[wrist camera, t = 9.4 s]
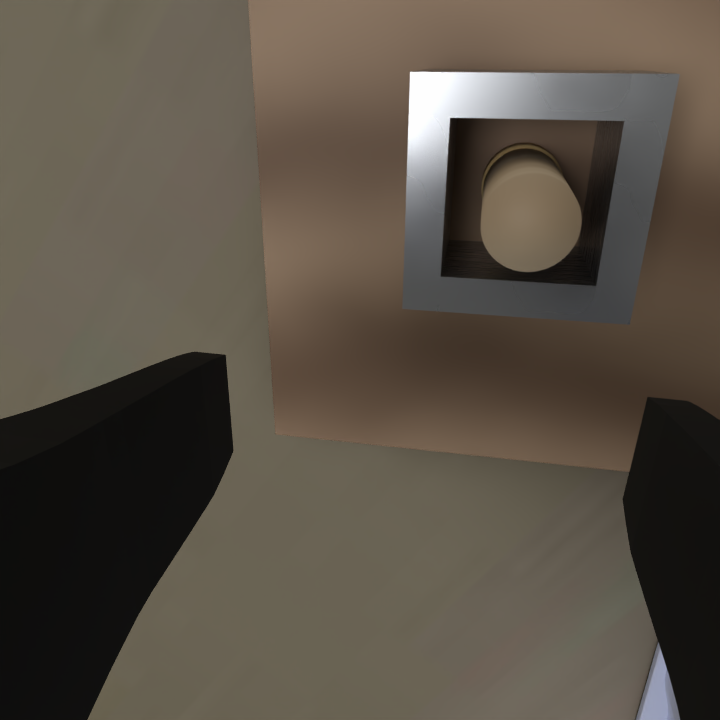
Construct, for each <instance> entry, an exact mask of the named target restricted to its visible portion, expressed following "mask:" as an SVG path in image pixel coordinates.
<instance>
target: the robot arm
mask: <svg viewBox="0 0 720 720" xmlns="http://www.w3.org/2000/svg"><path fill="white" fill-rule="evenodd" d="M232 453H233V440H232V428H231V415H230V403H229V391H228V379H227V366H226V355H222V354H211V353H201V352H191V353H186V354H182V355H179V356H176V357H173V358H170V359H167V360H165V361H162V362H159V363H157V364H154V365H151V366H149V367H146V368H144V369H141V370H139V371H136V372H134V373H131V374H129V375H126V376H123V377H121V378H118V379H116V380H113V381H111V382H108V383H106V384H103V385H101V386H98V387H95V388H93V389H90V390H87V391H84V392H82V393H79V394H76V395H73V396H70V397H68V398H65V399H62V400H59V401H57V402H54V403H51V404H48V405H45V406H43V407H39V408H36V409H33V410H30V411H27V412H24V413H20V414H17V415H14V416H10V417H7V418H3V419H0V720H87V719H88V717H89V715H90V713H91V711H92V708H93V706H94V704H95V702H96V700H97V698H98V696H99V694H100V691H101V689H102V687H103V685H104V683H105V681H106V679H107V676H108V674H109V672H110V670H111V668H112V666H113V664H114V662H115V660H116V658H117V656H118V654H119V652H120V650H121V648H122V646H123V644H124V642H125V640H126V638H127V636H128V634H129V632H130V630H131V628H132V626H133V624H134V622H135V620H136V618H137V616H138V614H139V613H140V611H141V609H142V608H143V606H144V604H145V603H146V601H147V599H148V597H149V596H150V594H151V592H152V591H153V589H154V588H155V586H156V585H157V583H158V581H159V580H160V578H161V577H162V575H163V574H164V572H165V571H166V569H167V568H168V566H169V565H170V563H171V561H172V560H173V558H174V557H175V555H176V554H177V552H178V551H179V549H180V548H181V546H182V544H183V543H184V541H185V540H186V538H187V537H188V535H189V534H190V532H191V531H192V529H193V527H194V526H195V524H196V523H197V521H198V520H199V518H200V516H201V515H202V513H203V512H204V510H205V509H206V507H207V505H208V504H209V502H210V500H211V499H212V497H213V496H214V494H215V491H216V489H217V487H218V485H219V483H220V481H221V479H222V477H223V474H224V472H225V470H226V467H227V465H228V463H229V460H230V458H231V455H232ZM623 505H624V512H625V519H626V526H627V533H628V539H629V545H630V550H631V555H632V558H633V561H634V565H635V568H636V572H637V575H638V578H639V581H640V585H641V588H642V591H643V595H644V598H645V601H646V604H647V607H648V610H649V614H650V617H651V620H652V623H653V626H654V630H655V633H656V636H657V639H658V644H657V648H656V651H655V655H654V658H653V662H652V665H651V669H650V672H649V676H648V679H647V683H646V686H645V690H644V693H643V697H642V700H641V704H640V707H639V710H638V714H637V717H636V720H720V420H719V419H717V418H716V417H714V416H713V415H711V414H710V413H708V412H707V411H705V410H704V409H702V408H700V407H699V406H697V405H695V404H693V403H691V402H689V401H685V400H675V399H665V398H655V397H647V401H646V405H645V409H644V413H643V418H642V422H641V426H640V430H639V434H638V438H637V442H636V447H635V451H634V455H633V459H632V463H631V467H630V472H629V476H628V480H627V484H626V488H625V492H624V496H623Z"/></svg>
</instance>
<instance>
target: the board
mask: <svg viewBox="0 0 720 720" xmlns="http://www.w3.org/2000/svg"><path fill="white" fill-rule="evenodd" d="M248 5H249V21H250V37H251V53H252V69H253V85H254V101H255V116H256V132H257V148H258V164H259V180H260V196H261V212H262V228H263V244H264V260H265V275H266V291H267V307H268V323H269V339H270V355H271V371H272V387H273V403H274V418H275V434H278V435H287V436H296V437H306V438H315V439H325V440H334V441H343V442H353V443H362V444H372V445H381V446H390V447H400V448H409V449H419V450H428V451H437V452H447V453H456V454H466V455H475V456H485V457H494V458H503V459H513V460H522V461H532V462H541V463H550V464H560V465H569V466H579V467H588V468H597V469H607V470H616V471H626V472H630V467H631V463H632V459H633V455H634V451H635V447H636V442H637V438H638V434H639V430H640V426H641V422H642V418H643V413H644V409H645V405H646V401H647V397H655V398H665V399H675V400H685V401H689V402H691V403H693V404H695V405H697V406H699V407H700V408H702V409H704V410H705V411H707V412H708V413H710V414H711V415H713V416H714V417H716V418H717V419H719V420H720V0H248ZM423 69H485V70H634V71H654V72H665V73H676V74H680V76H679V81H678V86H677V91H676V96H675V101H674V106H673V111H672V116H671V121H670V126H669V131H668V136H667V141H666V146H665V151H664V156H663V161H662V166H661V171H660V176H659V181H658V186H657V191H656V196H655V201H654V206H653V211H652V216H651V221H650V226H649V231H648V236H647V241H646V246H645V251H644V256H643V261H642V266H641V271H640V276H639V281H638V286H637V291H636V296H635V301H634V306H633V311H632V316H631V321H630V325H626V324H611V323H597V322H583V321H568V320H554V319H540V318H525V317H511V316H497V315H482V314H468V313H453V312H439V311H425V310H410V309H402V303H403V273H404V244H405V214H406V185H407V155H408V125H409V96H410V72H412V71H418V70H423ZM597 121H598V120H547V119H495V118H457V128H456V144H455V159H454V175H453V190H452V206H451V221H450V237H449V240H465V241H483V243H484V245H485V247H486V249H487V251H488V252H489V254H490V255H491V256H492V257H493V258H494V259H495V260H496V261H497V262H499V263H500V264H501V265H503V266H505V267H507V268H509V269H512V270H516V271H521V272H535V271H540V270H544V269H547V268H549V267H551V266H553V265H555V264H557V263H558V262H560V261H561V260H562V259H563V258H565V257H566V256H567V255H568V254H569V252H570V251H571V250H572V248H573V247H574V246H578V245H579V238H580V231H581V225H582V218H583V212H584V205H585V199H586V192H587V186H588V179H589V173H590V166H591V160H592V153H593V147H594V140H595V134H596V127H597Z"/></svg>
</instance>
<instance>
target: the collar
mask: <svg viewBox="0 0 720 720" xmlns="http://www.w3.org/2000/svg"><path fill="white" fill-rule="evenodd" d="M679 76H680V74H676V73H665V72H654V71H634V70H485V69H423V70H418V71H412V72H410V96H409V125H408V155H407V185H406V214H405V244H404V273H403V303H402V309H410V310H425V311H439V312H453V313H468V314H482V315H497V316H511V317H525V318H540V319H554V320H568V321H583V322H597V323H611V324H626V325H630V321H631V316H632V311H633V306H634V301H635V296H636V291H637V286H638V281H639V276H640V271H641V266H642V261H643V256H644V251H645V246H646V241H647V236H648V231H649V226H650V221H651V216H652V211H653V206H654V201H655V196H656V191H657V186H658V181H659V176H660V171H661V166H662V161H663V156H664V151H665V146H666V141H667V136H668V131H669V126H670V121H671V116H672V111H673V106H674V101H675V96H676V91H677V86H678V81H679ZM457 118H495V119H547V120H598V121H597V127H596V134H595V140H594V147H593V153H592V160H591V166H590V173H589V179H588V186H587V192H586V199H585V205H584V212H583V218H582V225H581V231H580V238H579V245H578V246H574V247H573V248H572V250H571V251H570V252H569V254H568V255H567V256H566V257H565V258H563V259H562V260H561V261H560V262H558V263H557V264H555V265H553V266H551V267H549V268H547V269H544V270H540V271H535V272H521V271H516V270H512V269H509V268H507V267H505V266H503V265H501V264H500V263H499V262H497V261H496V260H495V259H494V258H493V257H492V256H491V255H490V254H489V252H488V251H487V249H486V247H485V245H484V243H483V241H465V240H449V237H450V221H451V206H452V190H453V175H454V159H455V144H456V128H457Z"/></svg>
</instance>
